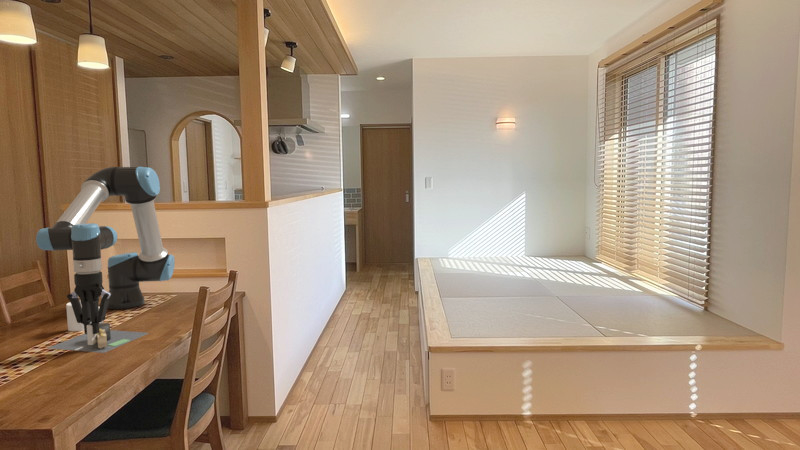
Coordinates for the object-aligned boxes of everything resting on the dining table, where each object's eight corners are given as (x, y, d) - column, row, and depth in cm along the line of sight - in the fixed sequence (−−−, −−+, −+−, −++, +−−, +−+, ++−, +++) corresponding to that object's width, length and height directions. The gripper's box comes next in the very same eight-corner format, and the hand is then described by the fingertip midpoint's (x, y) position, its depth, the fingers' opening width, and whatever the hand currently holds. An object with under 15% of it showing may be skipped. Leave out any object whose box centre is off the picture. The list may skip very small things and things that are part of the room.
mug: (101, 332, 173) (99, 304, 172) (64, 335, 170) (62, 306, 169) (109, 325, 182) (107, 298, 180) (73, 328, 178) (71, 300, 177)
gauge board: (97, 332, 173) (97, 328, 173) (149, 336, 169) (149, 332, 169) (46, 351, 154) (46, 347, 154) (104, 356, 150) (104, 352, 149)
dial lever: (89, 339, 162) (88, 325, 162) (109, 335, 166) (109, 321, 165) (92, 351, 150) (91, 336, 149) (114, 348, 153) (113, 333, 153)
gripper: (59, 274, 147) (64, 348, 149) (102, 273, 148) (107, 347, 150) (74, 270, 154) (78, 340, 156) (115, 269, 155) (119, 339, 157)
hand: (92, 343), depth 153 cm, fingers closed
